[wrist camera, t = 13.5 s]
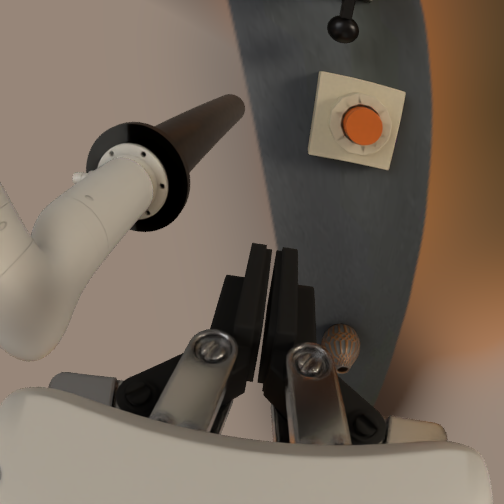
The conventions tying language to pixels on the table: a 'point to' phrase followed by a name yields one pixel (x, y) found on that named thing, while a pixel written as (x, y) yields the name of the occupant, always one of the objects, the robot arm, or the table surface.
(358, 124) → the button
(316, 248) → the table surface
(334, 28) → the switch
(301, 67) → the table surface
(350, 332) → the vase
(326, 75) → the beige button base
